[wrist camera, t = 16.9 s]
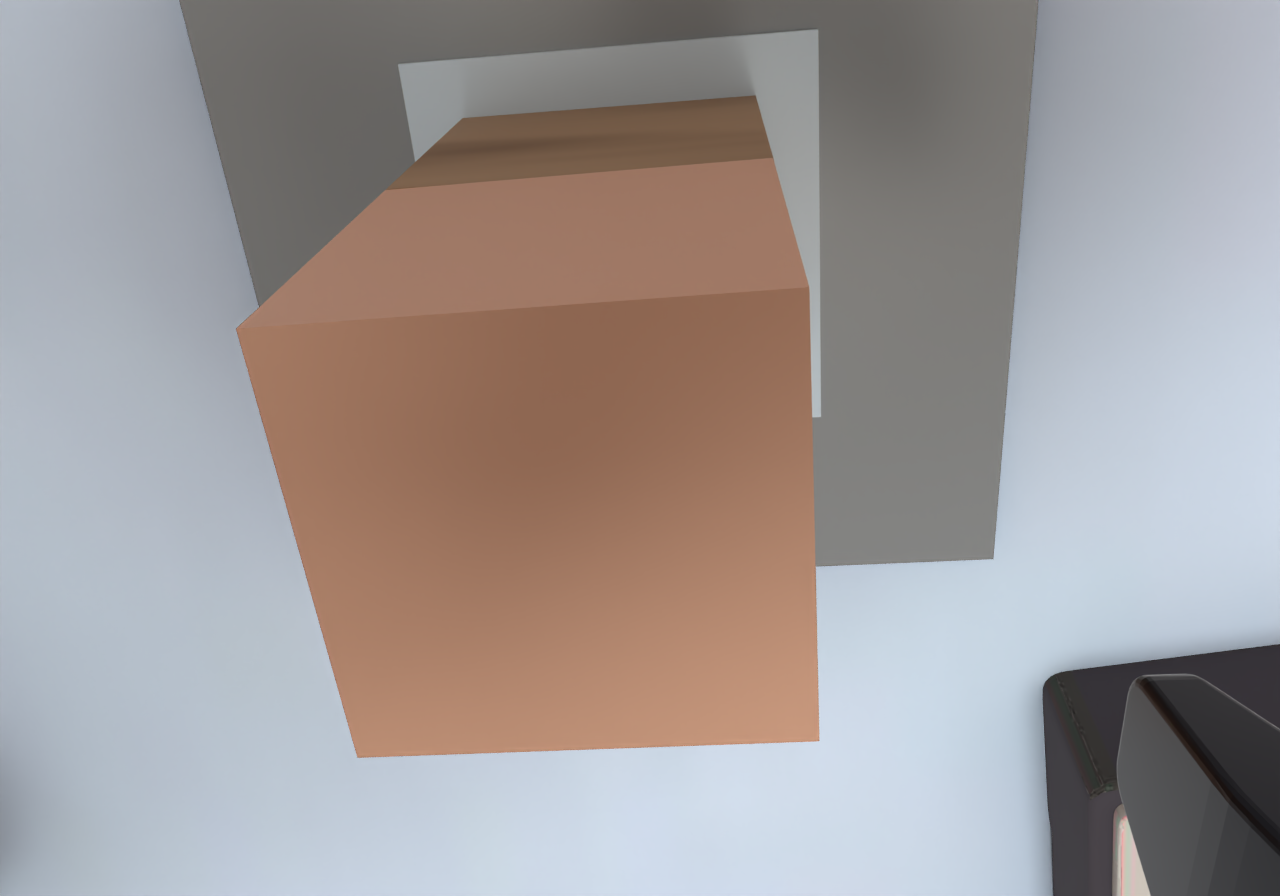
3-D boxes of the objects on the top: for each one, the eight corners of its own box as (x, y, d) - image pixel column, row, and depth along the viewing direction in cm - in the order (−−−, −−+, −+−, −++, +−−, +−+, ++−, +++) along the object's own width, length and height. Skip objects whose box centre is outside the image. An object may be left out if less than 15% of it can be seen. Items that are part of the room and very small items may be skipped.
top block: (785, 501, 16) (818, 740, 11) (451, 520, 16) (358, 757, 12) (772, 157, 13) (809, 286, 9) (385, 190, 14) (236, 328, 9)
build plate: (989, 548, 22) (994, 561, 22) (337, 576, 23) (330, 589, 23) (1049, -245, 16) (1060, -249, 15) (150, -153, 17) (136, -154, 17)
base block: (764, 370, 20) (782, 504, 16) (503, 384, 20) (449, 518, 16) (755, 94, 18) (774, 160, 13) (462, 118, 18) (386, 189, 14)
